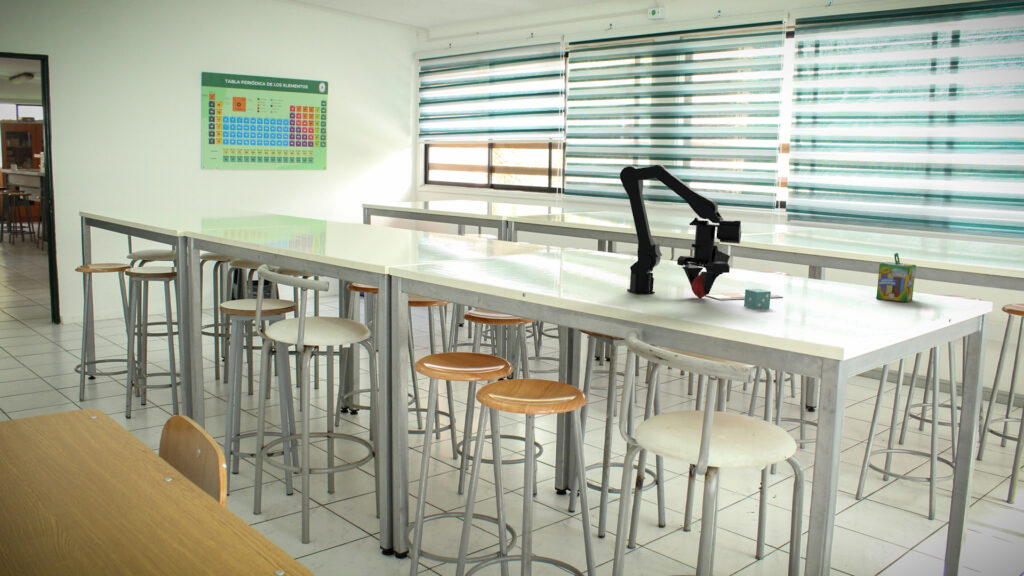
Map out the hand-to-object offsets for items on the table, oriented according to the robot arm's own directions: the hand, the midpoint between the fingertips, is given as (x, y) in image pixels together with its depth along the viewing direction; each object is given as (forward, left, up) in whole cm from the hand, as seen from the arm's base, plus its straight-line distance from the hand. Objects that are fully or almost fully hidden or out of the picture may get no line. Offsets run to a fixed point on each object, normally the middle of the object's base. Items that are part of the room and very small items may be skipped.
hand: (700, 292), depth 240 cm
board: (+16, 0, -2) cm, 16 cm away
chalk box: (+65, -14, -2) cm, 67 cm away
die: (+8, -16, -2) cm, 18 cm away
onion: (0, 0, -2) cm, 2 cm away
